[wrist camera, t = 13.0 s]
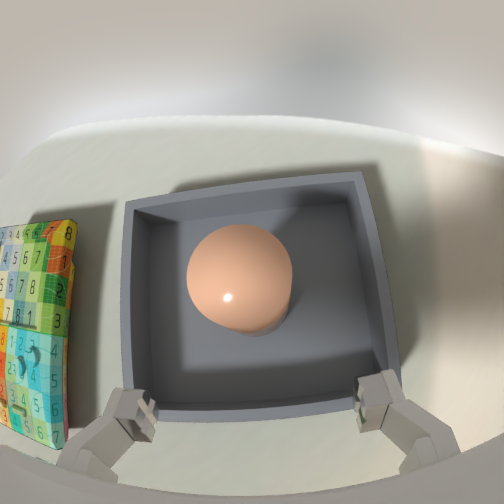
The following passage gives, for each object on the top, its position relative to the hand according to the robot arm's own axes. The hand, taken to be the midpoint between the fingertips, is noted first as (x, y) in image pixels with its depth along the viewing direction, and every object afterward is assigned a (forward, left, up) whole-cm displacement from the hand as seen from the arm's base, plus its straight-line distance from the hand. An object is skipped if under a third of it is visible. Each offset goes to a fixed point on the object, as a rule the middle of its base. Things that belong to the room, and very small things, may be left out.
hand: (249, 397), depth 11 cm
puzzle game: (+22, -4, -11) cm, 25 cm away
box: (0, -5, -11) cm, 12 cm away
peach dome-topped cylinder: (0, -5, -10) cm, 12 cm away
